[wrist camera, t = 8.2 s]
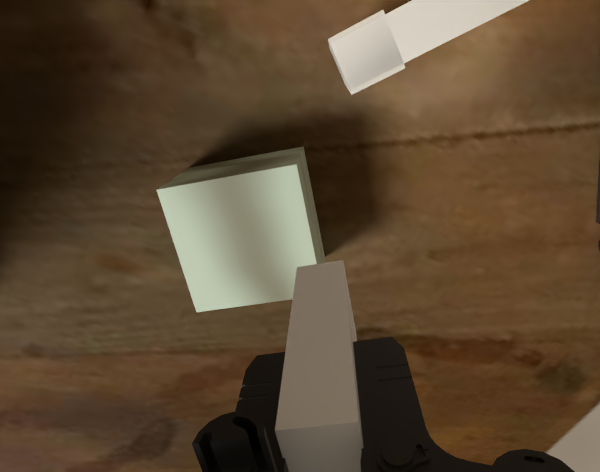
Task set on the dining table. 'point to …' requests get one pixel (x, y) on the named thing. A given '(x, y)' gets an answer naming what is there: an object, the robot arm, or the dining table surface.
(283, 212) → the pale green block
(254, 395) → the robot arm
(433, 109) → the dining table surface
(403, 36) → the gate
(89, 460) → the dining table surface
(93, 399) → the dining table surface
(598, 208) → the gate frame
